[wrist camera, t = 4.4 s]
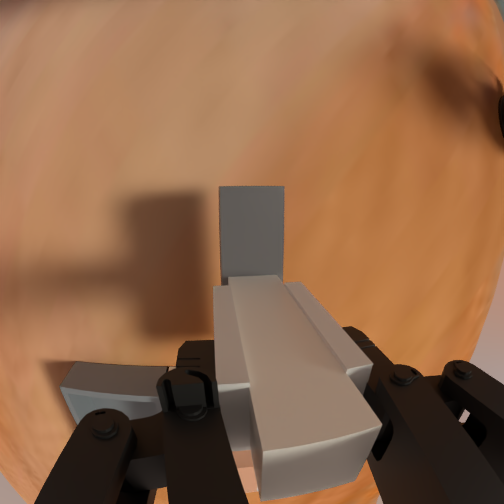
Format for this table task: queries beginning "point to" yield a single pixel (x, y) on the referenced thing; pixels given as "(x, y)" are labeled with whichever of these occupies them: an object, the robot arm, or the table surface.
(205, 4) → the table surface
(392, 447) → the robot arm
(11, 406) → the table surface
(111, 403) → the box
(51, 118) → the table surface
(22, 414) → the table surface
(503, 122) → the french press
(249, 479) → the tile
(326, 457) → the scraper
